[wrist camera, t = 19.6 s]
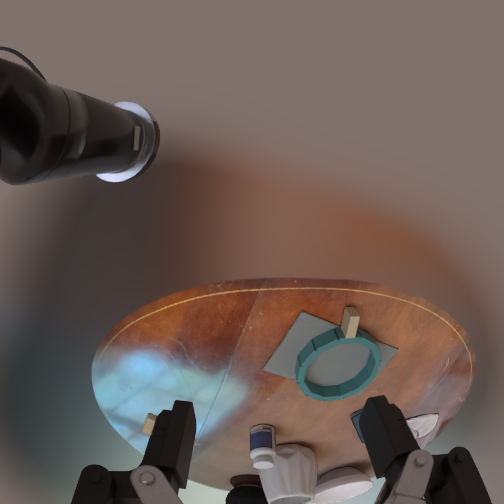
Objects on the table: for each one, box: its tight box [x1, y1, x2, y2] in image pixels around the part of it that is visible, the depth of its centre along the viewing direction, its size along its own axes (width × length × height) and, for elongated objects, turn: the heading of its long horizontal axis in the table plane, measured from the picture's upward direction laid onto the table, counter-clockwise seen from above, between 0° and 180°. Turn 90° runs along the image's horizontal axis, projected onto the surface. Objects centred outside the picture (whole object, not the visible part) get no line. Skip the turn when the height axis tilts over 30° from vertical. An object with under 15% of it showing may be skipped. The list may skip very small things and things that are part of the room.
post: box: [142, 413, 157, 436], centre depth 43 cm, size 8×8×15 cm
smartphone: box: [351, 409, 365, 443], centre depth 49 cm, size 8×2×15 cm
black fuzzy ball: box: [226, 475, 268, 504], centre depth 52 cm, size 13×13×15 cm
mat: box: [263, 311, 399, 397], centre depth 43 cm, size 22×13×1 cm, turn 64°
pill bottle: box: [250, 425, 276, 469], centre depth 45 cm, size 5×5×10 cm
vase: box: [259, 444, 318, 504], centre depth 46 cm, size 14×14×15 cm
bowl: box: [311, 467, 373, 504], centre depth 55 cm, size 20×19×8 cm
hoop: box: [295, 307, 382, 401], centre depth 41 cm, size 18×15×3 cm
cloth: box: [406, 414, 439, 439], centre depth 51 cm, size 20×22×2 cm
